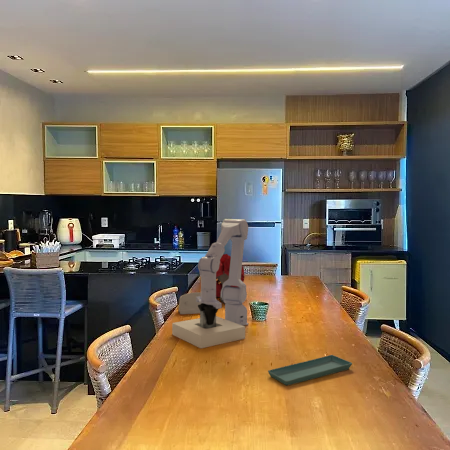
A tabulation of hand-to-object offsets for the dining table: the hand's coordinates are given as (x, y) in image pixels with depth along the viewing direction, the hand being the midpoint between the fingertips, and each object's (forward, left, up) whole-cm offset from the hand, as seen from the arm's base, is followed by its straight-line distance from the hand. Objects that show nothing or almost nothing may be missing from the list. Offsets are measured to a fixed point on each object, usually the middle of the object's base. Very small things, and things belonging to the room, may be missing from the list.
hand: (208, 323), depth 172 cm
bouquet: (+53, -46, -5) cm, 70 cm away
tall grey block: (0, 0, -5) cm, 5 cm away
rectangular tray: (-48, -5, -6) cm, 48 cm away
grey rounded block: (+36, -17, -5) cm, 40 cm away
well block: (0, 0, -5) cm, 5 cm away
